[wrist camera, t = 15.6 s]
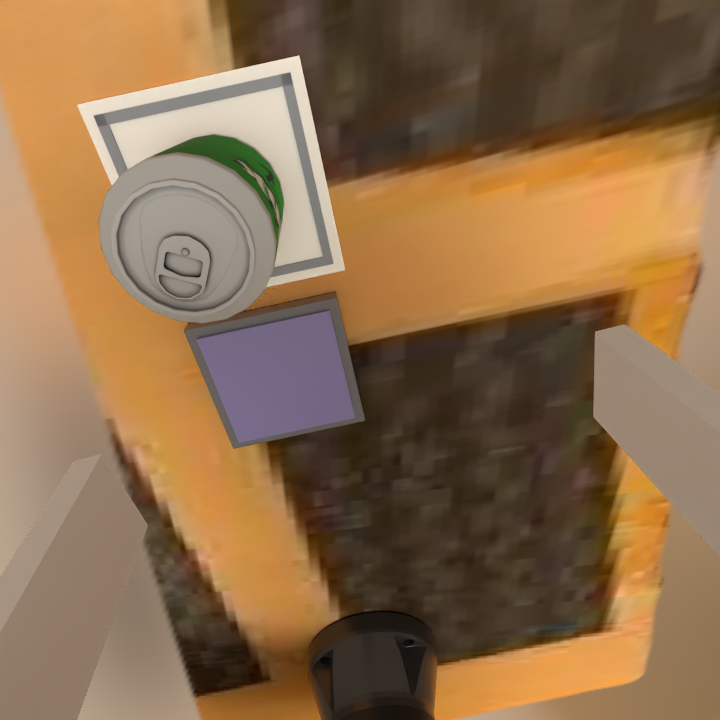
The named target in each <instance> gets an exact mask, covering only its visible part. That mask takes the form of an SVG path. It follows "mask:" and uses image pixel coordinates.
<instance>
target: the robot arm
mask: <svg viewBox="0 0 720 720" xmlns="http://www.w3.org/2000/svg"><path fill="white" fill-rule="evenodd" d="M593 417H594V418H595V419H596V420H597V421H598V422H599V423H600V425H601V426H602V427H603V428H604V429H605V430H606V431H607V432H608V433H609V435H610V436H611V437H612V438H613V439H614V440H615V441H616V442H617V443H618V445H619V446H620V447H621V448H622V449H623V450H624V451H625V452H626V453H627V455H628V456H629V457H630V458H631V459H632V460H633V461H634V462H635V463H636V465H637V466H638V467H639V468H640V469H641V470H642V471H643V472H644V473H645V475H646V476H647V477H648V478H649V479H650V480H651V481H652V482H653V483H654V484H655V486H656V487H657V488H658V489H659V490H660V491H661V492H662V493H663V494H664V496H665V497H666V498H667V499H668V500H669V501H670V502H671V503H672V504H673V506H674V507H675V508H676V509H677V510H678V511H679V512H680V513H681V514H682V516H683V517H684V518H685V519H686V520H687V521H688V522H689V523H690V524H691V526H692V527H693V528H694V529H695V530H696V531H697V532H698V533H699V534H700V535H701V537H702V538H703V539H704V540H705V541H706V542H707V543H708V544H709V545H710V546H711V548H712V549H713V550H714V551H715V552H716V553H717V554H718V555H719V557H720V392H719V391H718V390H716V389H715V388H713V387H712V386H710V385H709V384H708V383H706V382H705V381H703V380H702V379H701V378H699V377H698V376H696V375H695V374H694V373H692V372H691V371H689V370H688V369H687V368H685V367H684V366H682V365H681V364H680V363H678V362H677V361H675V360H674V359H673V358H671V357H670V356H668V355H667V354H666V353H664V352H663V351H661V350H660V349H659V348H657V347H656V346H654V345H653V344H652V343H650V342H649V341H647V340H646V339H644V338H643V337H642V336H640V335H639V334H637V333H636V332H635V331H633V330H632V329H630V328H629V327H628V326H626V325H625V324H624V325H620V326H616V327H612V328H608V329H604V330H600V331H596V332H595V365H594V413H593ZM147 527H148V525H147V523H146V522H145V520H144V519H143V517H142V516H141V514H140V513H139V511H138V509H137V508H136V506H135V505H134V503H133V502H132V500H131V499H130V497H129V496H128V494H127V492H126V491H125V489H124V488H123V486H122V485H121V483H120V482H119V480H118V479H117V477H116V475H115V474H114V472H113V471H112V469H111V468H110V467H109V465H108V463H107V462H106V460H105V458H104V457H103V455H101V454H100V455H96V456H92V457H88V458H84V459H80V460H76V461H73V463H72V464H71V466H70V467H69V469H68V471H67V472H66V474H65V475H64V477H63V478H62V480H61V482H60V483H59V485H58V486H57V488H56V490H55V491H54V493H53V494H52V496H51V498H50V499H49V501H48V502H47V504H46V505H45V507H44V509H43V510H42V512H41V513H40V515H39V516H38V518H37V519H36V521H35V523H34V524H33V526H32V527H31V529H30V531H29V532H28V534H27V535H26V537H25V538H24V540H23V542H22V543H21V545H20V546H19V548H18V549H17V551H16V553H15V554H14V556H13V557H12V559H11V560H10V562H9V564H8V565H7V567H6V568H5V570H4V572H3V573H2V575H1V576H0V720H77V718H78V715H79V713H80V710H81V707H82V704H83V701H84V699H85V696H86V693H87V691H88V688H89V685H90V682H91V680H92V677H93V674H94V671H95V669H96V666H97V663H98V661H99V658H100V655H101V652H102V649H103V647H104V644H105V641H106V639H107V636H108V633H109V630H110V628H111V625H112V622H113V620H114V617H115V614H116V611H117V608H118V606H119V603H120V600H121V598H122V595H123V592H124V589H125V587H126V584H127V581H128V578H129V575H130V573H131V570H132V567H133V565H134V562H135V559H136V557H137V554H138V551H139V548H140V546H141V543H142V540H143V537H144V535H145V532H146V529H147ZM436 676H437V652H436V648H435V643H434V639H433V635H432V633H431V631H430V630H429V628H428V627H427V626H426V625H425V624H423V623H422V622H420V621H419V620H417V619H415V618H413V617H410V616H407V615H403V614H398V613H390V612H374V613H365V614H360V615H356V616H352V617H349V618H346V619H343V620H340V621H338V622H336V623H334V624H332V625H331V626H329V627H327V628H326V629H324V630H323V631H322V632H321V633H320V634H318V635H317V636H316V638H315V639H314V640H313V642H312V643H311V645H310V647H309V650H308V677H309V682H310V685H311V688H312V691H313V694H314V697H315V701H316V704H317V707H318V710H319V713H320V717H321V720H435V717H434V705H435V690H436Z"/></svg>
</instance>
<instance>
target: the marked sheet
mask: <svg viewBox="0 0 720 720" xmlns="http://www.w3.org/2000/svg"><path fill="white" fill-rule="evenodd" d="M77 106H78V108H79V111H80V113H81V115H82V117H83V120H84V122H85V124H86V127H87V129H88V131H89V134H90V136H91V138H92V141H93V143H94V145H95V147H96V150H97V152H98V154H99V157H100V159H101V161H102V164H103V166H104V168H105V171H106V173H107V175H108V178H109V180H110V182H111V184H112V186H113V184H114V183H115V182H116V180H117V179H118V178H119V176H120V175H121V174H122V173H123V172H124V171H126V170H128V169H129V168H131V167H133V166H134V165H136V164H138V163H139V162H141V161H143V160H144V159H146V158H148V157H151V156H153V155H155V154H158V153H160V152H162V151H164V150H167V149H169V148H171V147H173V146H176V145H178V144H180V143H182V142H185V141H187V140H189V139H192V138H194V137H199V136H205V135H211V134H218V135H224V136H230V137H235V138H237V139H239V140H241V141H243V142H245V143H247V144H249V145H251V146H253V147H255V148H256V149H257V150H258V151H259V152H260V153H261V154H262V155H263V156H264V157H265V158H266V159H267V160H268V161H269V162H270V164H271V165H272V167H273V169H274V171H275V173H276V174H277V176H278V178H279V180H280V183H281V187H282V192H283V196H284V210H283V221H282V226H281V232H280V238H279V243H278V249H277V255H276V260H275V266H274V270H273V272H272V274H271V277H270V279H269V281H268V283H267V286H266V287H270V286H275V285H279V284H284V283H289V282H293V281H298V280H303V279H307V278H312V277H316V276H321V275H326V274H330V273H335V272H340V271H344V270H345V266H344V262H343V257H342V252H341V248H340V243H339V238H338V234H337V229H336V224H335V220H334V215H333V210H332V206H331V201H330V196H329V192H328V187H327V182H326V178H325V173H324V168H323V164H322V159H321V155H320V150H319V145H318V141H317V136H316V131H315V127H314V122H313V117H312V113H311V108H310V103H309V99H308V94H307V89H306V85H305V80H304V75H303V71H302V66H301V61H300V57H299V56H295V57H290V58H286V59H281V60H277V61H272V62H268V63H263V64H259V65H254V66H250V67H245V68H241V69H236V70H231V71H227V72H222V73H218V74H213V75H209V76H204V77H200V78H195V79H191V80H186V81H182V82H177V83H173V84H168V85H164V86H159V87H154V88H150V89H145V90H141V91H136V92H132V93H127V94H123V95H118V96H114V97H109V98H105V99H100V100H96V101H91V102H87V103H82V104H78V105H77Z"/></svg>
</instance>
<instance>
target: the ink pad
mask: <svg viewBox="0 0 720 720" xmlns="http://www.w3.org/2000/svg"><path fill="white" fill-rule="evenodd" d="M184 332H185V335H186V337H187V339H188V342H189V344H190V346H191V349H192V351H193V354H194V356H195V358H196V361H197V363H198V365H199V368H200V370H201V373H202V375H203V377H204V380H205V382H206V384H207V387H208V389H209V391H210V394H211V396H212V399H213V401H214V403H215V406H216V408H217V410H218V413H219V415H220V418H221V420H222V422H223V425H224V427H225V429H226V432H227V434H228V437H229V439H230V441H231V444H232V446H233V448H234V449H235V448H240V447H244V446H249V445H254V444H258V443H263V442H268V441H272V440H277V439H282V438H286V437H291V436H296V435H300V434H305V433H310V432H314V431H319V430H324V429H328V428H333V427H338V426H342V425H347V424H352V423H356V422H361V421H365V417H364V412H363V408H362V403H361V399H360V395H359V390H358V386H357V382H356V377H355V373H354V369H353V364H352V360H351V355H350V351H349V347H348V342H347V338H346V334H345V329H344V325H343V321H342V316H341V312H340V308H339V303H338V299H337V295H336V292H332V293H328V294H323V295H318V296H314V297H309V298H304V299H300V300H295V301H291V302H286V303H281V304H277V305H272V306H267V307H263V308H258V309H254V310H249V311H244V312H240V313H237V314H235V315H233V316H231V317H230V318H228V319H224V320H218V321H213V322H207V323H195V322H194V323H189V324H187V326H186V328H185V330H184Z"/></svg>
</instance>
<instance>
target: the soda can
mask: <svg viewBox="0 0 720 720" xmlns="http://www.w3.org/2000/svg"><path fill="white" fill-rule="evenodd" d="M283 210H284V196H283V192H282V187H281V183H280V180H279V178H278V176H277V174H276V173H275V171H274V169H273V167H272V165H271V164H270V162H269V161H268V160H267V159H266V158H265V157H264V156H263V155H262V154H261V153H260V152H259V151H258V150H257V149H256V148H255V147H253V146H251V145H249V144H247V143H245V142H243V141H241V140H239V139H237V138H235V137H230V136H224V135H218V134H211V135H205V136H199V137H194V138H192V139H189V140H187V141H185V142H182V143H180V144H178V145H176V146H173V147H171V148H169V149H167V150H164V151H162V152H160V153H158V154H155V155H153V156H151V157H148V158H146V159H144V160H143V161H141V162H139V163H138V164H136V165H134V166H133V167H131V168H129V169H128V170H126V171H124V172H123V173H122V174H121V175H120V176H119V178H118V179H117V180H116V182H115V183H114V184H113V186H112V187H111V188H110V190H109V191H108V192H107V194H106V195H105V199H104V203H103V207H102V210H101V214H100V218H99V230H100V241H101V249H102V251H103V253H104V256H105V258H106V260H107V263H108V265H109V267H110V270H111V272H112V274H113V275H114V276H115V278H116V279H117V280H118V281H119V282H120V284H121V285H122V286H123V287H124V289H125V290H126V291H127V292H128V293H129V295H131V296H132V297H133V298H135V299H136V300H137V301H139V302H140V303H142V304H143V305H144V306H146V307H147V308H149V309H150V310H151V311H153V312H156V313H159V314H161V315H164V316H166V317H169V318H172V319H174V320H177V321H186V322H195V323H207V322H213V321H218V320H224V319H228V318H230V317H231V316H233V315H235V314H237V313H239V312H241V311H243V310H245V309H247V308H248V307H249V306H250V305H251V304H252V303H253V302H254V301H255V300H256V299H257V298H258V297H259V296H260V295H261V294H262V292H263V291H264V290H265V288H266V286H267V283H268V281H269V279H270V277H271V274H272V272H273V270H274V266H275V260H276V255H277V249H278V243H279V238H280V232H281V226H282V221H283Z"/></svg>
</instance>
